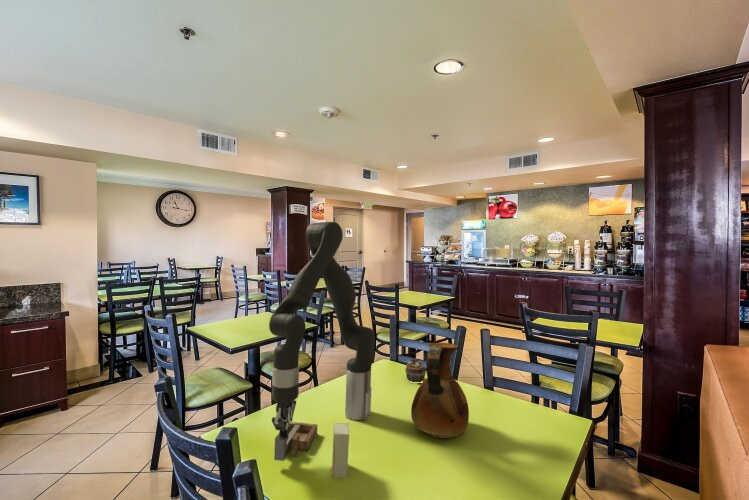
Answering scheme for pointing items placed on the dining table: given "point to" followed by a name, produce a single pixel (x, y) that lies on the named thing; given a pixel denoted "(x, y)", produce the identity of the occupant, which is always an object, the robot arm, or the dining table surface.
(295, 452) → the dock
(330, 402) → the dining table surface
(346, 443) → the skincare box
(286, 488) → the dining table surface
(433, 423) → the ceramic pitcher
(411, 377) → the cupcake
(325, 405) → the dining table surface
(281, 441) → the pin
